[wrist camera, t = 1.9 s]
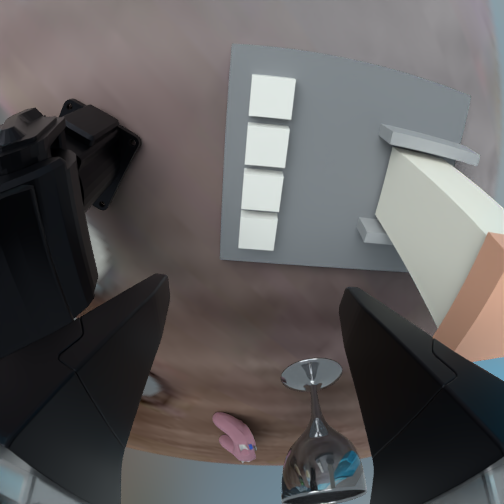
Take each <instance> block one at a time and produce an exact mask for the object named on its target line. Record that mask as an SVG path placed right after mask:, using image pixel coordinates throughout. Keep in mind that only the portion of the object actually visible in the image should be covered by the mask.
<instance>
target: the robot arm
mask: <svg viewBox="0 0 504 504" xmlns="http://www.w3.org/2000/svg"><path fill="white" fill-rule="evenodd" d="M70 103H71V104H72V109H71V108H70V107H69V104H70ZM131 139H133V140H135V142H136V144H135V145H133V144H132V143H131ZM140 144H141V139H140V137H139V136H138V135H136V134H135V133H133V132H131V131H129V130H128V129H126V128H124V127H123V126H121V125H119V122H118V120H117V119H115V118H113V117H112V116H110V115H108V114H106V113H105V112H103V111H101V110H99V109H98V108H96V107H94V106H92V105H87V106H86V105H84V104H82V103H81V102H79V101H77V100H75V99H69V100H67V101H66V102H65V103H64V105H63V108H62V110H61V113H60V115H59V117H56V116H54V117H46V116H45V115H44V116H43V115H42V114H41V113H40V112H39V111H38V110H37V109H36V108H31V109H26V110H24V111H22V112H19V113H17V114H15V115H13V116H11V117H9V118H8V119H7V120H6V121H5V123H4V124H2V125H0V504H121V467H122V458H123V454H124V449H125V447H126V444H127V441H128V437H129V434H130V431H131V428H132V425H133V421H134V418H135V415H136V412H137V409H138V406H139V403H140V400H141V397H142V394H143V390H144V387H145V385H146V381H147V379H148V376H149V373H150V370H151V367H152V364H153V361H154V358H155V355H156V353H157V350H158V347H159V344H160V341H161V338H162V334H163V330H164V325H165V320H166V315H167V311H168V306H169V301H170V291H169V281H168V276H167V275H166V274H154V275H152V276H150V277H148V278H147V279H145V280H143V281H141V282H140V283H138V284H136V285H134V286H133V287H131V288H129V289H128V290H126V291H124V292H122V293H121V294H119V295H117V296H116V297H114V298H112V299H110V300H109V301H107V302H105V303H104V304H102V305H100V306H98V307H97V308H95V309H93V310H92V311H90V312H88V313H87V314H85V315H83V316H81V317H80V318H77V319H76V320H74V318H75V317H76V316H77V315H78V314H80V313H81V312H82V311H83V310H84V309H85V308H87V307H88V306H89V304H90V303H91V302H92V300H93V299H94V297H95V294H94V290H95V287H96V283H97V279H98V272H97V267H96V263H95V259H94V254H93V250H92V246H91V241H90V236H89V231H88V226H87V221H86V216H85V213H86V211H87V210H88V209H89V208H90V207H91V206H92V205H93V206H95V207H97V208H98V209H100V210H106V209H107V208H108V206H109V205H110V203H111V201H112V199H113V197H114V194H115V192H116V190H117V188H118V186H119V184H120V182H121V180H122V178H123V176H124V174H125V172H126V170H127V168H128V166H129V165H130V163H131V161H132V159H133V157H134V155H135V153H136V151H137V150H138V148H139V146H140ZM101 201H102V202H104V203H105V205H103V204H102V203H101ZM339 316H340V322H341V329H342V336H343V343H344V348H345V352H346V356H347V359H348V363H349V367H350V370H351V374H352V378H353V382H354V385H355V389H356V393H357V397H358V401H359V405H360V409H361V413H362V417H363V421H364V425H365V429H366V433H367V438H368V442H369V446H370V451H371V455H372V458H373V466H374V477H373V486H372V493H371V500H370V504H504V381H503V380H501V379H499V378H498V377H496V376H494V375H493V374H491V373H489V372H488V371H486V370H484V369H483V368H481V367H479V366H478V365H476V364H474V363H473V362H471V361H469V360H467V359H466V358H464V357H463V356H461V355H459V354H458V353H456V352H454V351H453V350H451V349H450V348H448V347H447V346H445V345H444V344H442V343H441V342H439V341H438V340H436V339H435V338H433V337H431V336H430V335H428V334H427V333H426V332H424V331H423V330H421V329H420V328H418V327H417V326H415V325H414V324H412V323H411V322H409V321H408V320H406V319H405V318H403V317H402V316H400V315H399V314H397V313H396V312H394V311H393V310H391V309H390V308H388V307H387V306H385V305H384V304H382V303H381V302H379V301H378V300H376V299H375V298H373V297H372V296H370V295H369V294H367V293H366V292H364V291H363V290H361V289H360V288H358V287H347V288H346V289H345V291H344V294H343V297H342V300H341V303H340V306H339Z"/></svg>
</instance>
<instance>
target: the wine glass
mask: <svg viewBox="0 0 504 504" xmlns="http://www.w3.org/2000/svg"><path fill="white" fill-rule="evenodd" d="M341 375H342V367H341V366H340V364H339V363H337V362H336V361H334V360H331V359H326V358H311V359H305V360H301V361H298V362H296V363H294V364H292V365H290V366H288V367H287V368H286V369H285V370H284V371H283V372H282V375H281V382H282V383H283V385H284V386H285V387H287V388H289V389H291V390H294V391H299V392H310V394H311V417H310V422H309V424H308V426H307V428H306V429H305V431H304V432H303V433H302V435H301V436H300V437H299V438H298V439H297V440H296V442H295V443H294V444H293V445H292V446H291V448H290V449H289V451H288V453H287V456H286V458H285V462H284V467H283V473H282V481H281V483H282V484H281V500H282V504H337V503H341V502H346V501H349V500H353V499H356V498H358V497H361V496H363V495H364V494H366V493H367V488H366V481H365V476H364V471H363V466H362V463H361V460H360V457H359V455H358V453H357V451H356V448H355V447H354V445H353V444H352V442H351V441H350V440H348V439H347V438H346V437H345V436H343V435H342V434H341V433H339V432H338V431H336V430H335V429H333V428H332V427H331V426H330V425H329V424H328V423H327V422H326V421H325V419H324V418H323V415H322V412H321V408H320V405H319V400H318V394H317V391H318V390H321V389H325V388H327V387H329V386H331V385H333V384H334V383H335V382H337V381H338V380H339V378H340V377H341Z"/></svg>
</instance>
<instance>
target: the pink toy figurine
mask: <svg viewBox="0 0 504 504" xmlns="http://www.w3.org/2000/svg"><path fill="white" fill-rule="evenodd" d="M213 422H214V423H215V425H216V426H217V427H218V428H219V429H221V430H222V431H223V432H225V433H226V434H227V435H225V434H224V435H221V436H220V438H219V442H220V444H221V445H222V446H223V447H224V448H225V449H226V450H228V451H229V452H231V453H232V454H233V455H234V456H235V457H236V458H237V459H238V460H239V461H242V463H243V462H245V461H247V462H250V461H252V460H254V459H255V458H256V456H255V451H254V450H257V447H256V443H255V440H254V437H253V435H252V433H251V431H250V429H249V428H248V426H247V425H246V424H245V423H243V422H242V420H241V419H240V420H238V419H236V418H235V417H233V416H231V415H229V414H227V413H224V412H216V413H215V414H214V415H213Z"/></svg>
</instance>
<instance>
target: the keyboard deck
mask: <svg viewBox="0 0 504 504" xmlns="http://www.w3.org/2000/svg"><path fill="white" fill-rule="evenodd" d="M470 100H471V96H470V95H468V94H465V93H463V92H460V91H458V90H455V89H452V88H450V87H447V86H444V85H441V84H439V83H436V82H433V81H430V80H427V79H424V78H421V77H418V76H414V75H411V74H408V73H404V72H401V71H398V70H394V69H390V68H387V67H383V66H379V65H375V64H371V63H367V62H362V61H358V60H353V59H349V58H344V57H339V56H333V55H328V54H322V53H316V52H310V51H303V50H296V49H288V48H280V47H270V46H259V45H246V44H232V49H231V62H230V75H229V88H228V103H227V118H226V134H225V152H224V171H223V191H222V214H221V241H220V259H221V260H235V261H248V262H262V263H276V264H290V265H304V266H319V267H334V268H349V269H364V270H380V271H395V272H409V271H408V270H407V268H406V266H405V264H404V262H403V261H402V259H401V257H400V255H399V254H398V252H397V250H396V248H395V247H394V245H393V243H392V242H391V240H390V238H389V236H388V235H387V233H386V231H385V230H384V228H383V227H382V225H381V223H380V222H379V220H378V218H377V217H376V215H375V213H376V209H377V206H378V202H379V199H380V195H381V191H382V187H383V184H384V180H385V176H386V172H387V168H388V164H389V160H390V156H391V151H392V147H397V148H401V149H406V150H410V151H415V152H419V153H423V154H428V155H432V156H436V157H440V158H442V159H444V160H445V161H446V162H448V163H449V164H450V165H452V166H453V167H454V165H455V161H456V160H457V161H461V162H464V163H468V164H471V165H475V166H477V165H478V162H479V159H480V155H479V154H477V153H476V152H474V151H473V150H471V149H470V148H468V147H466V146H464V145H461V144H460V143H461V139H462V135H463V131H464V127H465V123H466V119H467V114H468V110H469V105H470Z"/></svg>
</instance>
